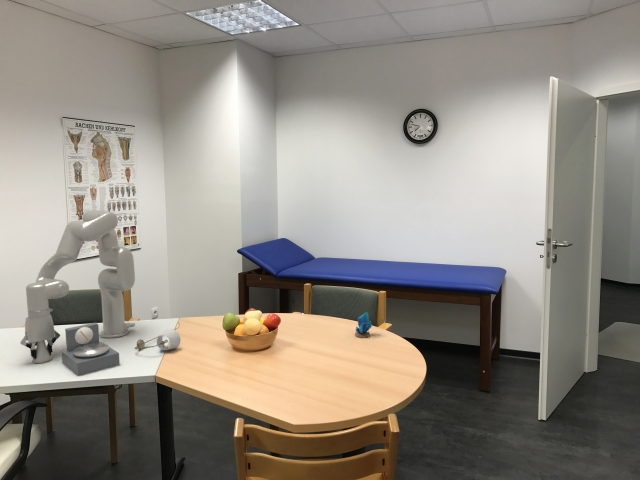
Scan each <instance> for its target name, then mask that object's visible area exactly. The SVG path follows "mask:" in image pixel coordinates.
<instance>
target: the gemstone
mask: <svg viewBox="0 0 640 480" xmlns="http://www.w3.org/2000/svg"><path fill="white" fill-rule="evenodd" d="M369 316H370V315H369V313H368V312H367V311H366V312H364V313H362V314H361V315H360V316H358V317H357V325H358V326H357V325H356V327H355V333H354V336H355V337H356V338H359V339H367V338H369V337H370V336H371V333H370V332H369V330H370V329H371V328H372V325H373V324H372V321H371V320H369V318H370V317H369Z"/></svg>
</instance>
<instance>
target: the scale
mask: <svg viewBox="0 0 640 480" xmlns="http://www.w3.org/2000/svg"><path fill="white" fill-rule="evenodd" d="M99 329H100V327H99V323H98V322H92V323H87V324H82V325H77V326H72V327H67V328H65V329H64V330H65V346H66V349H65V350H61V361H62V365H64V366H65V367H66V368H68V369H69V370H70V371H72V372H73V374H75V375H76V376H77V377H79V376H83V375H87V374H90V373H96V372H99V371H102V370H105V369H109V368H113V367H117V366H120V365H121V364H120V352H118V351H116V350H115V349H113V348H112V347H110V346H109V350H108V351H107V352H106V353H104V354H101V355H98V356H93V357H77V356H75V355H74V354H73V350H74V349H75V348H77V347H79V346H82V345H86V344H93V343H103V344H105V343H104V342H102V341H100V330H99Z"/></svg>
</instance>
